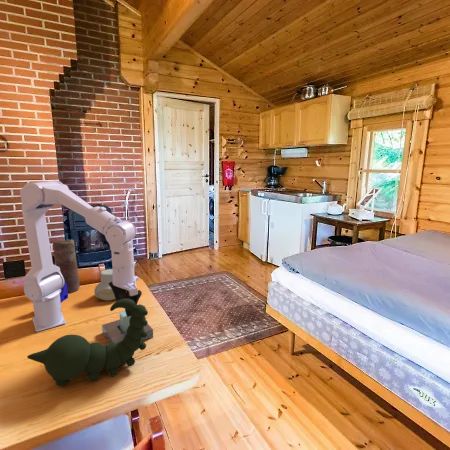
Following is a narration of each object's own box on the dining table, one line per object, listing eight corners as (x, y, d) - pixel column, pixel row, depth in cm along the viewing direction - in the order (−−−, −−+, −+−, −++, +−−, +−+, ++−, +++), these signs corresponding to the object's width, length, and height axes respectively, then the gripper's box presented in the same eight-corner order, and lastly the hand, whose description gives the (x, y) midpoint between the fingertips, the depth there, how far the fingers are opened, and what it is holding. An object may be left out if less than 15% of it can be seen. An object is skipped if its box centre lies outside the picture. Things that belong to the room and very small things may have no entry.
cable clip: (56, 297, 110) (55, 282, 109) (68, 298, 110) (66, 282, 109) (32, 313, 99) (30, 296, 97) (44, 314, 98) (42, 297, 97)
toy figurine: (139, 355, 81) (30, 377, 69) (143, 289, 77) (28, 300, 66) (148, 377, 72) (25, 406, 61) (152, 304, 69) (23, 320, 57)
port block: (102, 332, 88) (101, 325, 87) (138, 321, 94) (138, 313, 94) (114, 351, 79) (114, 343, 79) (153, 337, 86) (152, 329, 86)
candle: (53, 292, 114) (47, 242, 109) (66, 285, 121) (61, 237, 116) (71, 294, 112) (66, 243, 108) (83, 286, 119) (79, 238, 115)
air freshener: (128, 291, 115) (127, 267, 113) (123, 301, 107) (121, 275, 105) (99, 292, 114) (97, 267, 112) (91, 302, 106) (89, 276, 104)
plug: (120, 334, 87) (119, 312, 86) (131, 330, 89) (130, 309, 88) (124, 339, 85) (123, 316, 83) (135, 335, 87) (134, 313, 85)
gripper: (147, 269, 79) (149, 316, 82) (127, 255, 90) (130, 296, 93) (121, 275, 75) (124, 324, 78) (103, 259, 86) (107, 303, 89)
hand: (125, 309), depth 85 cm, fingers open, 7 cm apart
